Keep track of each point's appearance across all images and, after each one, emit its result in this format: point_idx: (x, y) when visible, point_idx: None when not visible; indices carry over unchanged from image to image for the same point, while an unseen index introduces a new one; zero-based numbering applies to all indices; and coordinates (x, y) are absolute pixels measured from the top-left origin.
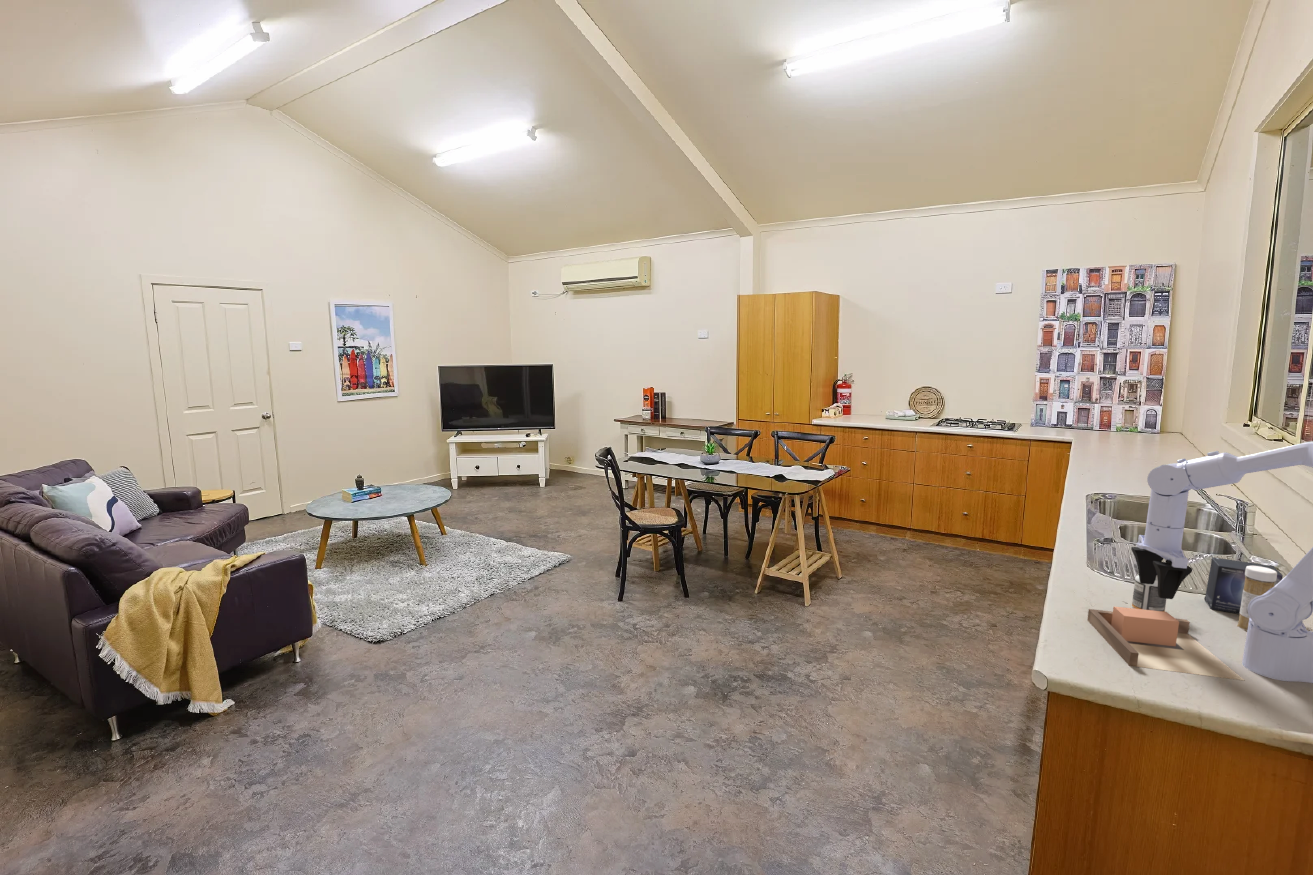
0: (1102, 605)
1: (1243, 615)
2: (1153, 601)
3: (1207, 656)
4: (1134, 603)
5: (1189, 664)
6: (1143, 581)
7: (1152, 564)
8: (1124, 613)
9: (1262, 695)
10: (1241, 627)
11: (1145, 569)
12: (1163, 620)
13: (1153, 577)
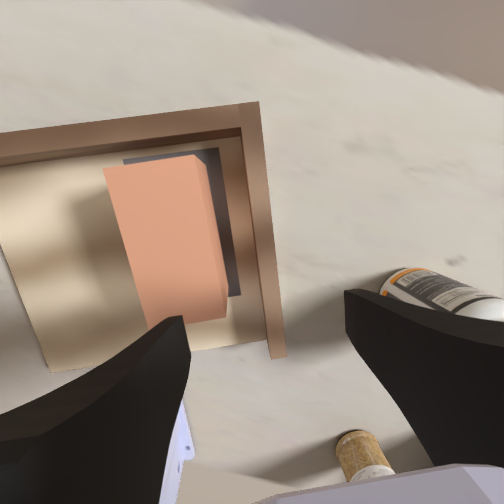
0: (418, 199)
1: (366, 467)
2: None
3: None
4: (416, 273)
5: (71, 295)
6: (349, 301)
7: (416, 396)
8: (132, 176)
9: (32, 380)
10: (354, 438)
11: (389, 338)
12: (137, 289)
13: (362, 350)
